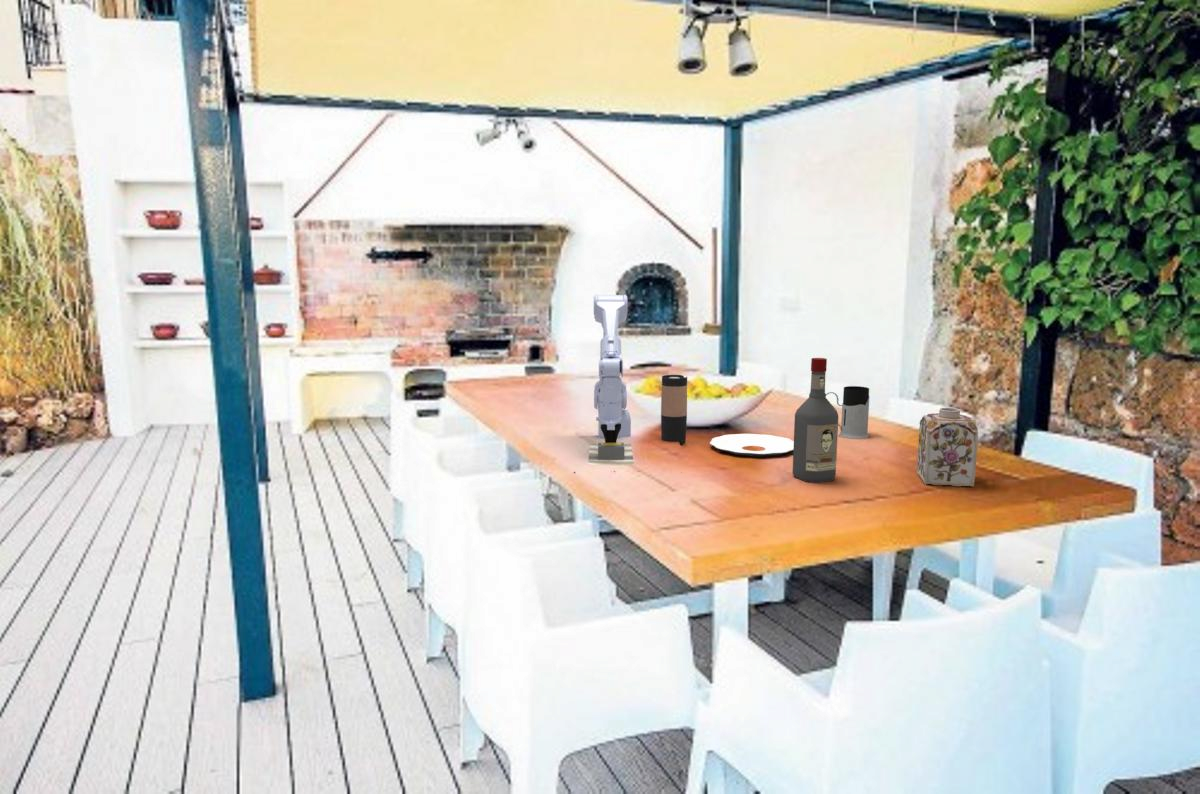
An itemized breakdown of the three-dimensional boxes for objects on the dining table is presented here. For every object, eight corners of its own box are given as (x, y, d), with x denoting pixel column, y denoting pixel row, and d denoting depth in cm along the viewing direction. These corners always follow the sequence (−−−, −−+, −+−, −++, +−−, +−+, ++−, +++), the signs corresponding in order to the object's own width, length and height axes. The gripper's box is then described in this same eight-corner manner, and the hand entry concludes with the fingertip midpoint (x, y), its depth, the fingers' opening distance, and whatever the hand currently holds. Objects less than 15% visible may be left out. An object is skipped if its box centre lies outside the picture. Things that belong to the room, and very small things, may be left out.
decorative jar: (964, 475, 207) (970, 405, 204) (975, 488, 196) (981, 414, 193) (914, 472, 210) (919, 403, 207) (922, 485, 198) (927, 412, 195)
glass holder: (872, 439, 248) (875, 390, 246) (825, 439, 249) (827, 390, 246) (863, 433, 257) (866, 385, 254) (818, 432, 257) (820, 385, 255)
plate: (743, 436, 254) (743, 430, 254) (815, 449, 236) (815, 442, 236) (692, 449, 237) (692, 442, 236) (765, 464, 219) (765, 457, 219)
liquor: (787, 474, 208) (792, 357, 203) (817, 471, 211) (823, 355, 206) (809, 483, 199) (815, 361, 194) (840, 480, 203) (846, 360, 198)
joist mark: (588, 460, 223) (588, 456, 222) (632, 460, 223) (632, 456, 222) (588, 464, 219) (588, 459, 218) (633, 464, 219) (633, 459, 218)
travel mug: (657, 444, 241) (658, 377, 238) (665, 439, 248) (665, 374, 245) (682, 446, 238) (683, 379, 235) (689, 441, 245) (690, 375, 242)
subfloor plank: (589, 448, 237) (589, 443, 237) (631, 448, 237) (631, 444, 237) (588, 469, 213) (588, 464, 213) (634, 469, 213) (634, 464, 213)
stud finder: (598, 455, 223) (598, 442, 223) (623, 455, 223) (623, 442, 223) (598, 459, 218) (598, 446, 218) (624, 459, 218) (624, 446, 218)
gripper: (596, 397, 229) (596, 444, 231) (595, 406, 215) (595, 456, 217) (621, 397, 229) (621, 444, 231) (622, 406, 215) (622, 456, 217)
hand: (610, 450), depth 224 cm, fingers closed
